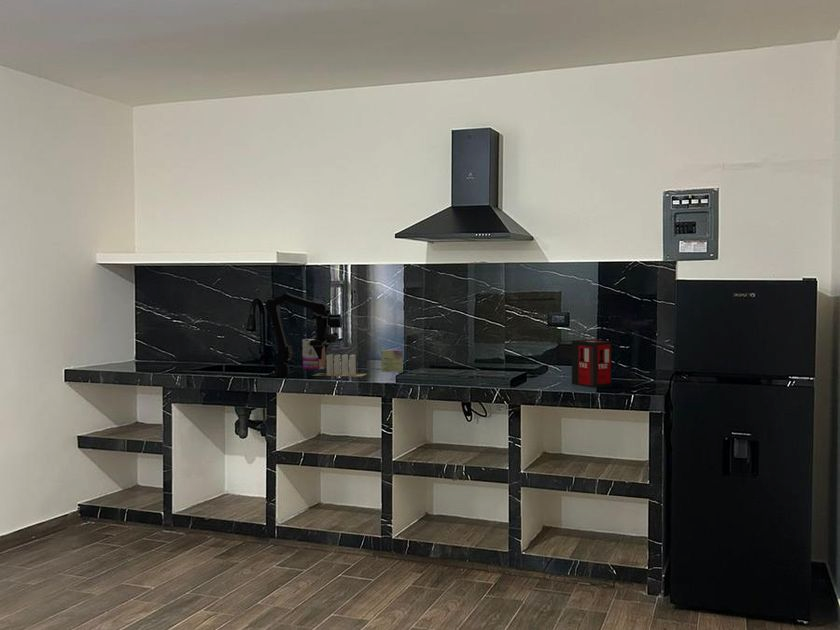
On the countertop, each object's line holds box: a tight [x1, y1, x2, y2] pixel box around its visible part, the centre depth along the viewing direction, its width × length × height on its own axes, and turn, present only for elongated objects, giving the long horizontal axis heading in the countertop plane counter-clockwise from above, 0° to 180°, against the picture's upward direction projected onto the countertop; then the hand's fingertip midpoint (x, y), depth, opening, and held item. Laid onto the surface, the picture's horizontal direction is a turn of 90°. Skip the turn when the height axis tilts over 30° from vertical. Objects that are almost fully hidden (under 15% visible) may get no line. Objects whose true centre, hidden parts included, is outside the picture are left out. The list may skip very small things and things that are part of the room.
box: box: [380, 349, 403, 374], centre depth 426 cm, size 10×6×12 cm, turn 100°
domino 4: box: [341, 353, 349, 377], centre depth 411 cm, size 2×5×10 cm, turn 167°
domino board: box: [311, 372, 367, 378], centre depth 412 cm, size 26×10×1 cm, turn 77°
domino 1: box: [319, 347, 326, 368], centre depth 414 cm, size 2×5×10 cm, turn 167°
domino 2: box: [325, 353, 334, 375], centre depth 413 cm, size 2×5×10 cm, turn 167°
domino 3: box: [333, 353, 342, 375], centre depth 412 cm, size 2×5×10 cm, turn 167°
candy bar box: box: [301, 338, 325, 371], centre depth 444 cm, size 11×5×16 cm, turn 62°
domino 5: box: [348, 354, 357, 377], centre depth 410 cm, size 2×5×10 cm, turn 167°
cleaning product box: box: [571, 339, 613, 389], centre depth 372 cm, size 16×9×20 cm, turn 30°
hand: (321, 358), depth 414 cm, fingers closed on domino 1, 5 cm apart
